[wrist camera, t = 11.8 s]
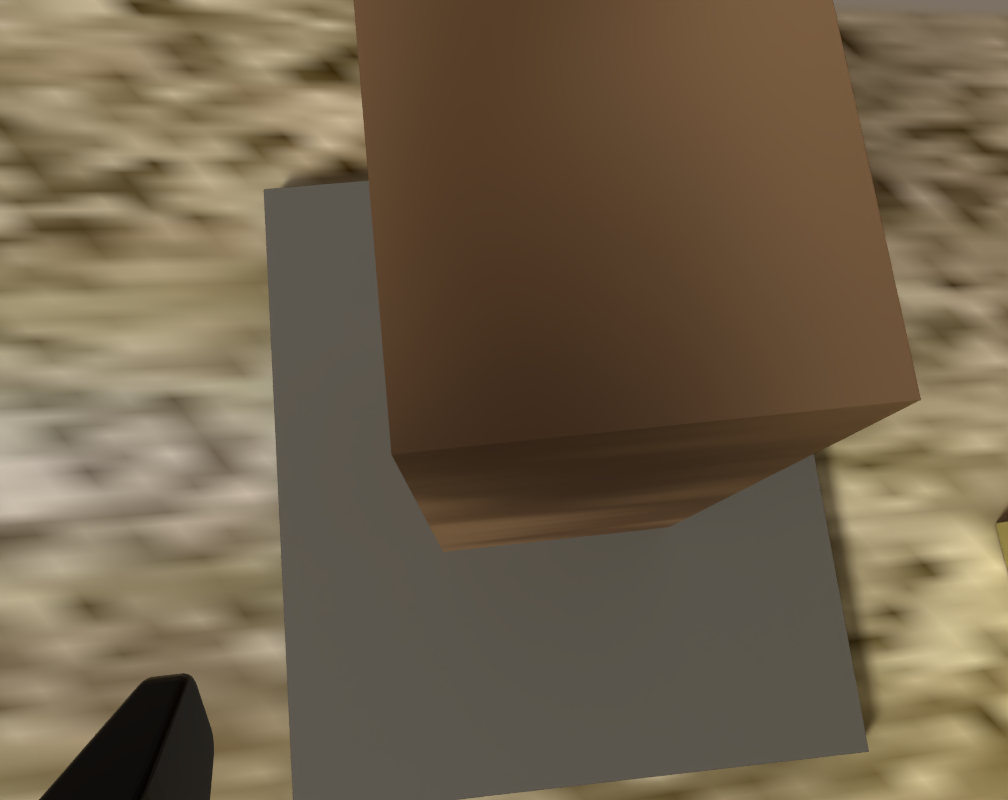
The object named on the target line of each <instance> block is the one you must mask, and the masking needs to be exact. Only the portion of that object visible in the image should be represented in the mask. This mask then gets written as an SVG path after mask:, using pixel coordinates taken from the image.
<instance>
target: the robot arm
mask: <svg viewBox="0 0 1008 800" xmlns="http://www.w3.org/2000/svg"><path fill="white" fill-rule="evenodd" d="M213 759H214V742H213V734H212V730H211V727H210V724H209V721H208V718H207V715H206V711H205V708H204V705H203V702H202V699H201V696H200V693H199V690H198V687H197V685H196V682H195V680H194V679H193V678H192V676H190V675H189V674H184V673H182V674H174V675H165V676H156V677H150V678H148V679H146V680H144V681H143V682H142V683H140V684H139V685H138V687H137V688H136V689H135V690H134V691H133V692H132V694H131V695H130V696H129V697H128V698H127V699H126V700H125V702H124V703H123V704H122V705H121V706H120V707H119V708H118V710H117V711H116V712H115V713H114V714H113V715H112V716H111V718H110V719H109V720H108V721H107V722H106V723H105V725H104V726H103V727H102V728H101V729H100V730H99V731H98V733H97V734H96V735H95V736H94V737H93V738H92V739H91V741H90V742H89V743H88V744H87V745H86V746H85V748H84V749H83V750H82V751H81V752H80V753H79V754H78V756H77V757H76V758H75V759H74V760H73V761H72V762H71V764H70V765H69V766H68V767H67V768H66V769H65V770H64V772H63V773H62V774H61V775H60V776H59V777H58V779H57V780H56V781H55V782H54V783H53V784H52V785H51V787H50V788H49V789H48V790H47V791H46V792H45V793H44V795H43V796H42V797H41V798H40V799H39V800H210V793H211V781H212V770H213Z"/></svg>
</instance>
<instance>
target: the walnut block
mask: <svg viewBox="0 0 1008 800" xmlns="http://www.w3.org/2000/svg"><path fill="white" fill-rule="evenodd" d="M354 10H355V22H356V34H357V46H358V59H359V71H360V83H361V95H362V107H363V119H364V131H365V143H366V155H367V167H368V179H369V191H370V203H371V215H372V227H373V239H374V251H375V263H376V275H377V287H378V299H379V311H380V323H381V335H382V347H383V359H384V371H385V383H386V395H387V407H388V419H389V432H390V444H391V455H392V457H393V458H394V460H395V462H396V464H397V466H398V468H399V470H400V472H401V474H402V475H403V477H404V479H405V481H406V483H407V485H408V487H409V489H410V490H411V492H412V494H413V496H414V498H415V500H416V502H417V504H418V506H419V507H420V509H421V511H422V513H423V515H424V517H425V519H426V521H427V522H428V524H429V526H430V528H431V530H432V532H433V534H434V536H435V538H436V539H437V541H438V543H439V545H440V547H441V549H442V551H443V552H447V551H456V550H465V549H475V548H484V547H493V546H502V545H511V544H520V543H530V542H539V541H548V540H557V539H566V538H575V537H584V536H594V535H603V534H612V533H621V532H630V531H639V530H648V529H658V528H667V527H671V526H673V525H674V524H676V523H678V522H680V521H682V520H684V519H686V518H688V517H690V516H692V515H694V514H696V513H698V512H700V511H702V510H704V509H706V508H708V507H710V506H712V505H714V504H716V503H718V502H720V501H722V500H724V499H726V498H728V497H730V496H732V495H734V494H736V493H738V492H740V491H742V490H744V489H746V488H747V487H749V486H751V485H753V484H755V483H757V482H759V481H761V480H763V479H765V478H767V477H769V476H771V475H773V474H775V473H777V472H779V471H781V470H783V469H785V468H787V467H789V466H791V465H793V464H795V463H797V462H799V461H801V460H803V459H805V458H807V457H809V456H811V455H813V454H815V453H817V452H818V451H820V450H822V449H824V448H826V447H828V446H830V445H832V444H834V443H836V442H838V441H840V440H842V439H844V438H846V437H848V436H850V435H852V434H854V433H856V432H858V431H860V430H862V429H864V428H866V427H868V426H870V425H872V424H874V423H876V422H878V421H880V420H882V419H884V418H886V417H888V416H890V415H891V414H893V413H895V412H897V411H899V410H901V409H903V408H905V407H907V406H909V405H911V404H913V403H915V402H917V401H919V400H921V398H920V393H919V389H918V384H917V380H916V375H915V371H914V366H913V362H912V357H911V353H910V348H909V344H908V339H907V334H906V330H905V325H904V321H903V316H902V312H901V307H900V303H899V298H898V294H897V289H896V285H895V280H894V276H893V271H892V267H891V262H890V258H889V253H888V248H887V244H886V239H885V235H884V230H883V226H882V221H881V217H880V212H879V208H878V203H877V199H876V194H875V190H874V185H873V181H872V176H871V171H870V167H869V162H868V158H867V153H866V149H865V144H864V140H863V135H862V131H861V126H860V122H859V117H858V113H857V108H856V104H855V99H854V94H853V90H852V85H851V81H850V76H849V72H848V67H847V63H846V58H845V54H844V49H843V45H842V40H841V36H840V31H839V27H838V22H837V18H836V13H835V8H834V4H833V0H354Z"/></svg>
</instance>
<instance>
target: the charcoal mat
mask: <svg viewBox="0 0 1008 800" xmlns="http://www.w3.org/2000/svg"><path fill="white" fill-rule="evenodd" d="M264 204H265V225H266V246H267V267H268V288H269V309H270V329H271V350H272V371H273V392H274V413H275V434H276V455H277V476H278V496H279V517H280V538H281V559H282V580H283V601H284V622H285V642H286V663H287V684H288V705H289V726H290V747H291V768H292V789H293V800H458V799H466V798H475V797H483V796H492V795H501V794H509V793H518V792H526V791H535V790H544V789H552V788H561V787H569V786H578V785H586V784H595V783H604V782H612V781H621V780H629V779H638V778H647V777H655V776H664V775H672V774H681V773H690V772H698V771H707V770H715V769H724V768H733V767H741V766H750V765H758V764H767V763H776V762H784V761H793V760H801V759H810V758H818V757H827V756H836V755H844V754H853V753H861V752H869V750H868V744H867V739H866V733H865V728H864V723H863V717H862V712H861V706H860V701H859V696H858V690H857V685H856V679H855V674H854V668H853V663H852V658H851V652H850V647H849V641H848V636H847V631H846V625H845V620H844V614H843V609H842V603H841V598H840V593H839V587H838V582H837V576H836V571H835V566H834V560H833V555H832V549H831V544H830V539H829V533H828V528H827V522H826V517H825V511H824V506H823V501H822V495H821V490H820V484H819V479H818V474H817V468H816V463H815V457H814V454H813V455H811V456H809V457H807V458H805V459H803V460H801V461H799V462H797V463H795V464H793V465H791V466H789V467H787V468H785V469H783V470H781V471H779V472H777V473H775V474H773V475H771V476H769V477H767V478H765V479H763V480H761V481H759V482H757V483H755V484H753V485H751V486H749V487H747V488H746V489H744V490H742V491H740V492H738V493H736V494H734V495H732V496H730V497H728V498H726V499H724V500H722V501H720V502H718V503H716V504H714V505H712V506H710V507H708V508H706V509H704V510H702V511H700V512H698V513H696V514H694V515H692V516H690V517H688V518H686V519H684V520H682V521H680V522H678V523H676V524H674V525H673V526H671V527H667V528H658V529H648V530H639V531H630V532H621V533H612V534H603V535H594V536H584V537H575V538H566V539H557V540H548V541H539V542H530V543H520V544H511V545H502V546H493V547H484V548H475V549H465V550H456V551H447V552H443V551H442V549H441V547H440V545H439V543H438V541H437V539H436V538H435V536H434V534H433V532H432V530H431V528H430V526H429V524H428V522H427V521H426V519H425V517H424V515H423V513H422V511H421V509H420V507H419V506H418V504H417V502H416V500H415V498H414V496H413V494H412V492H411V490H410V489H409V487H408V485H407V483H406V481H405V479H404V477H403V475H402V474H401V472H400V470H399V468H398V466H397V464H396V462H395V460H394V458H393V457H392V455H391V444H390V432H389V419H388V407H387V395H386V383H385V371H384V359H383V347H382V335H381V323H380V311H379V299H378V287H377V275H376V263H375V251H374V239H373V227H372V215H371V203H370V191H369V181H358V182H346V183H334V184H322V185H310V186H298V187H286V188H274V189H264Z"/></svg>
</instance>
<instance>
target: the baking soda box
mask: <svg viewBox="0 0 1008 800" xmlns="http://www.w3.org/2000/svg"><path fill="white" fill-rule="evenodd" d="M996 528H997V532H998V536H999V539H1000V543H1001V547H1002V551H1003V555H1004V559H1005V563H1006V567H1007V571H1008V522H1002V523H997V524H996Z"/></svg>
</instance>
